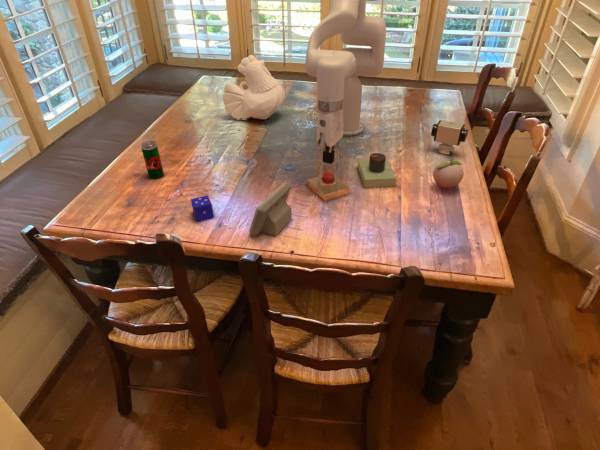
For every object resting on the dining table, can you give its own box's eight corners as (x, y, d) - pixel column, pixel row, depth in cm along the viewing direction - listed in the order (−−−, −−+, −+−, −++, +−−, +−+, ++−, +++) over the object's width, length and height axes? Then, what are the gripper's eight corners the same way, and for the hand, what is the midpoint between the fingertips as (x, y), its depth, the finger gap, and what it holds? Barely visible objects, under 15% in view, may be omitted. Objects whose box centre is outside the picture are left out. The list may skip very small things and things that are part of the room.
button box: (307, 185, 142) (307, 174, 140) (330, 178, 145) (331, 167, 143) (324, 201, 134) (324, 190, 132) (348, 193, 138) (349, 182, 135)
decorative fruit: (443, 198, 135) (449, 169, 129) (426, 185, 141) (431, 158, 135) (466, 190, 138) (473, 162, 132) (448, 178, 144) (454, 151, 138)
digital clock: (279, 206, 132) (278, 176, 126) (302, 217, 128) (302, 186, 121) (241, 231, 123) (237, 200, 116) (264, 244, 118) (261, 212, 111)
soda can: (166, 173, 150) (159, 141, 143) (158, 180, 146) (150, 148, 139) (154, 171, 151) (146, 139, 144) (145, 178, 148) (137, 146, 140)
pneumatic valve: (460, 158, 155) (467, 127, 148) (427, 151, 159) (433, 121, 152) (463, 152, 159) (470, 121, 151) (431, 145, 163) (437, 115, 156)
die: (197, 221, 127) (194, 207, 124) (193, 212, 131) (190, 198, 128) (214, 217, 128) (211, 203, 125) (209, 208, 132) (207, 195, 129)
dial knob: (382, 164, 146) (384, 151, 143) (385, 172, 142) (387, 159, 139) (367, 165, 146) (368, 152, 143) (370, 173, 142) (371, 159, 139)
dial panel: (357, 167, 151) (358, 159, 149) (386, 166, 151) (387, 158, 149) (364, 187, 140) (365, 179, 138) (395, 186, 141) (396, 177, 139)
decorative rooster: (295, 98, 187) (261, 47, 181) (286, 105, 173) (248, 50, 167) (252, 129, 197) (219, 82, 192) (240, 138, 184) (203, 87, 178)
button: (320, 178, 138) (320, 173, 137) (329, 175, 140) (330, 171, 139) (326, 183, 136) (326, 178, 135) (335, 180, 137) (336, 176, 136)
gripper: (331, 115, 116) (329, 175, 127) (352, 97, 127) (348, 154, 138) (306, 111, 119) (306, 170, 130) (328, 94, 130) (327, 149, 140)
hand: (328, 162), depth 134 cm, fingers closed
